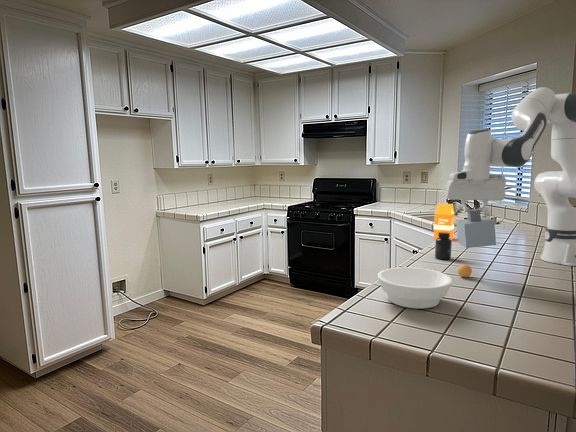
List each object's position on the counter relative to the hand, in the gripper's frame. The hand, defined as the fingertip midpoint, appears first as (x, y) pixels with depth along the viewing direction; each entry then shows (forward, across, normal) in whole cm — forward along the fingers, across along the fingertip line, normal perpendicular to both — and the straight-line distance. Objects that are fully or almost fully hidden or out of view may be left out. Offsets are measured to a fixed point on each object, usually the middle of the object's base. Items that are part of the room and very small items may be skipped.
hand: (473, 212), depth 146 cm
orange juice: (+24, -10, -76) cm, 81 cm away
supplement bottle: (+25, +2, -31) cm, 40 cm away
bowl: (+26, +25, +27) cm, 46 cm away
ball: (+23, +1, -1) cm, 23 cm away
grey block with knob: (+12, -2, 0) cm, 12 cm away
